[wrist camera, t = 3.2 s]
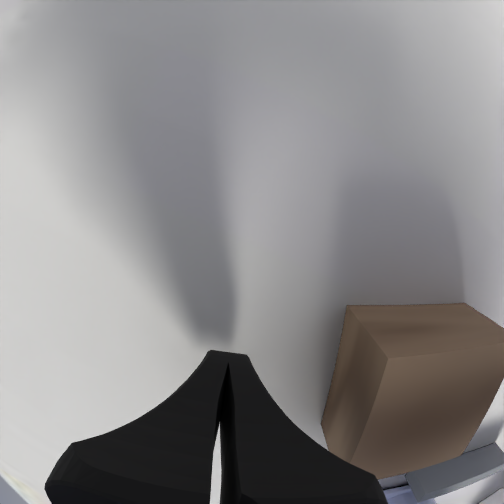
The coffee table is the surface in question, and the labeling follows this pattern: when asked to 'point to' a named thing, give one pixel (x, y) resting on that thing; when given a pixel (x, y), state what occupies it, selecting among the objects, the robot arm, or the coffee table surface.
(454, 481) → the lane
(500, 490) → the jar
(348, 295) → the coffee table surface
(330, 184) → the coffee table surface
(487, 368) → the walnut block
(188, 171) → the coffee table surface
